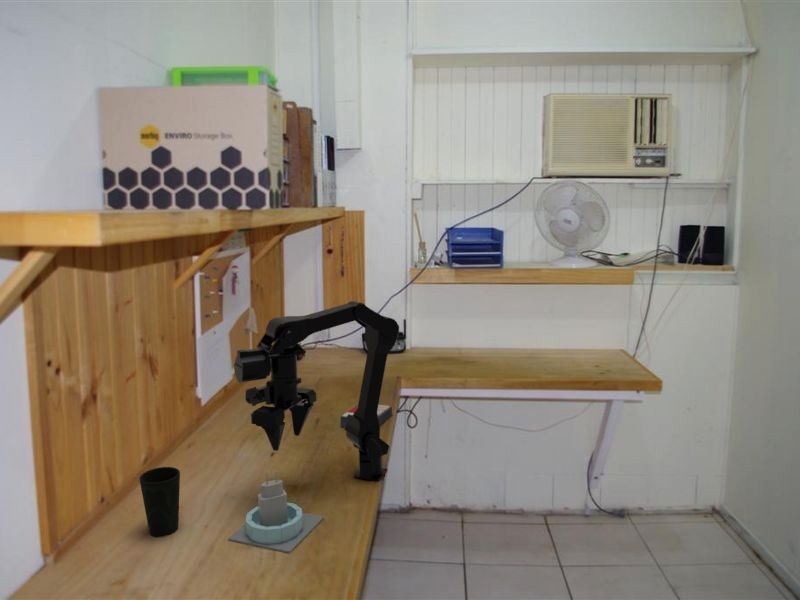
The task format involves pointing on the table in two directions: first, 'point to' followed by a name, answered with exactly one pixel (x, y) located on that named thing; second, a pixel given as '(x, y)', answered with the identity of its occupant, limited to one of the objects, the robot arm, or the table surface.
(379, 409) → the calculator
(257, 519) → the bowl
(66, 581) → the table surface
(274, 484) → the power adapter
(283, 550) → the mat
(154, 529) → the cup
